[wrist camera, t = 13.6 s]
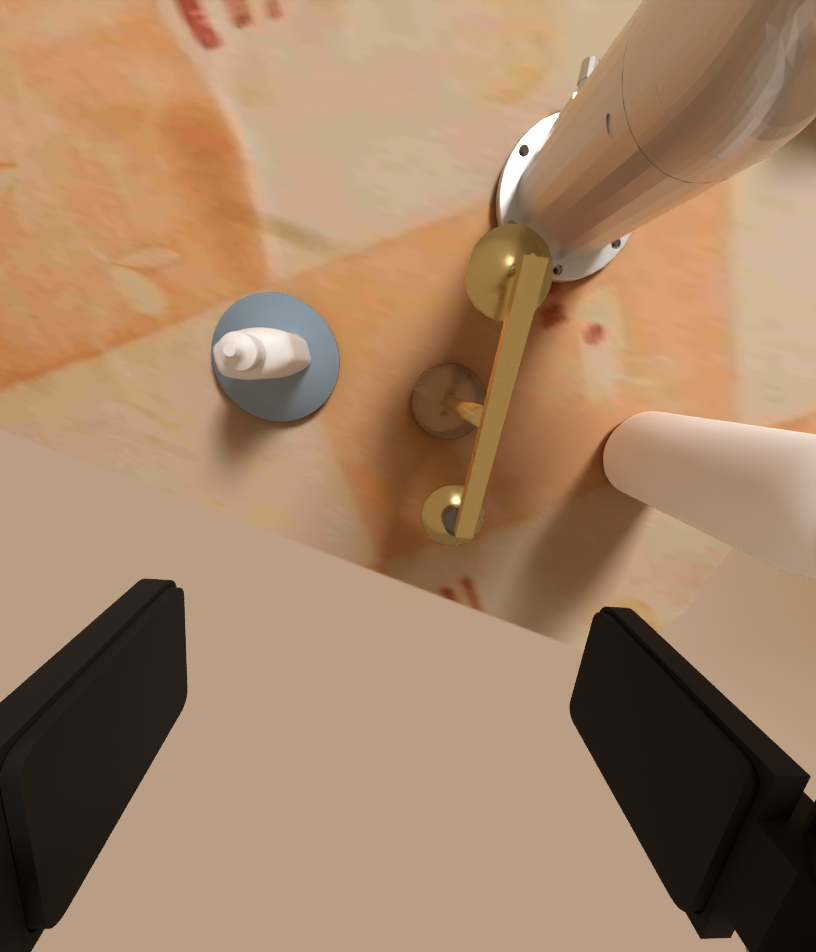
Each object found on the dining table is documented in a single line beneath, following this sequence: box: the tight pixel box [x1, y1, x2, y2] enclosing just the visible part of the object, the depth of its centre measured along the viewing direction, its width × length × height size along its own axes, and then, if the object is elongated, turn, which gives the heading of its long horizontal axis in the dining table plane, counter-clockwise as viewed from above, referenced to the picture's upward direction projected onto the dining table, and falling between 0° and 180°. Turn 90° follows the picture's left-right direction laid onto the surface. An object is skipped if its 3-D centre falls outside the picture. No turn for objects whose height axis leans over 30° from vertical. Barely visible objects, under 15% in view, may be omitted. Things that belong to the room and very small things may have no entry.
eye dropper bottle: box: [213, 327, 311, 380], centre depth 28 cm, size 4×6×12 cm
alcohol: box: [603, 411, 816, 579], centre depth 26 cm, size 9×9×30 cm
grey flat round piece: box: [211, 292, 340, 422], centre depth 35 cm, size 11×11×1 cm
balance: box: [411, 224, 553, 546], centre depth 29 cm, size 21×7×18 cm, turn 173°
